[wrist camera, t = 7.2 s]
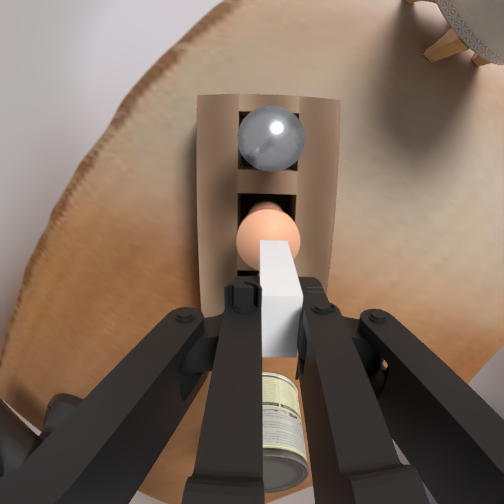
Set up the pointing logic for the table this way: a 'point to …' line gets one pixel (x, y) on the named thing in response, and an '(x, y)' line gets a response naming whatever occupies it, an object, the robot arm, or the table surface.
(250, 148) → the grey plug
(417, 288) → the table surface
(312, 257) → the wooden slotted block
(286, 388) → the coffee can
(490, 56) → the planter
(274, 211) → the terracotta plug
